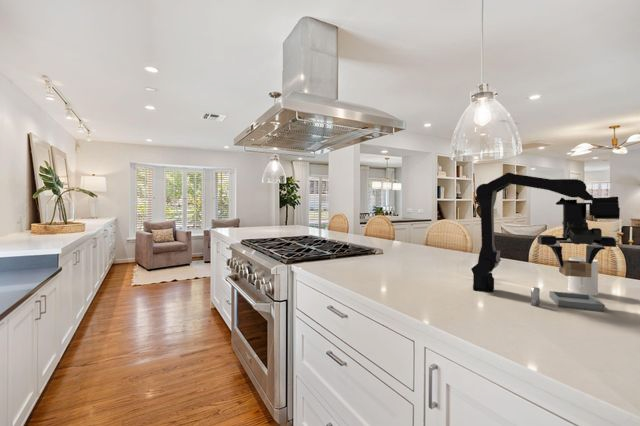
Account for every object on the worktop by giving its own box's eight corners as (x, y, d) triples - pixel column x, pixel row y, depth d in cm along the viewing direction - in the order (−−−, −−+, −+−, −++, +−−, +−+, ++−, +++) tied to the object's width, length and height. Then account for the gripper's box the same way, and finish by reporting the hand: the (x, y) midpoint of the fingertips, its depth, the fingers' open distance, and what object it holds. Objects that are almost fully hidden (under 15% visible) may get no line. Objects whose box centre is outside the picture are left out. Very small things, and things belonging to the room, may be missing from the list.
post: (531, 305, 97) (531, 288, 96) (530, 303, 99) (530, 286, 98) (540, 306, 96) (540, 289, 96) (538, 304, 98) (538, 287, 98)
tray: (558, 306, 96) (558, 300, 96) (549, 296, 106) (549, 290, 106) (604, 311, 91) (604, 304, 91) (590, 300, 101) (590, 294, 101)
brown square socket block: (559, 271, 102) (559, 259, 102) (583, 273, 99) (583, 260, 99) (565, 275, 96) (565, 263, 96) (591, 277, 94) (591, 264, 94)
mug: (594, 299, 103) (595, 263, 102) (562, 293, 109) (563, 260, 109) (600, 292, 110) (601, 259, 110) (570, 287, 117) (570, 256, 116)
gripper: (545, 220, 94) (546, 270, 94) (626, 220, 86) (625, 275, 87) (537, 218, 104) (537, 264, 104) (607, 218, 97) (607, 267, 97)
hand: (574, 267), depth 98 cm, fingers closed on brown square socket block, 6 cm apart
